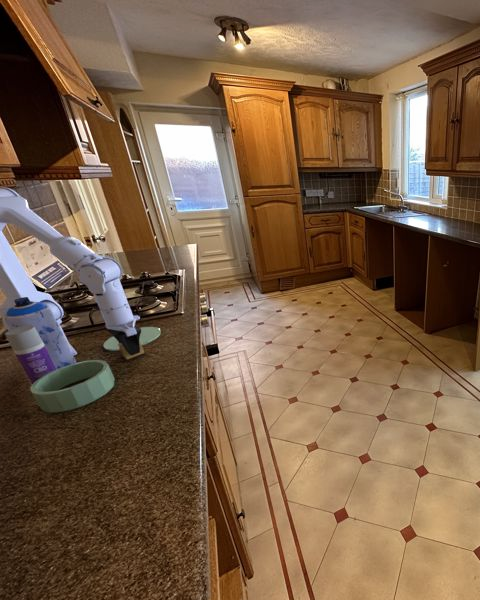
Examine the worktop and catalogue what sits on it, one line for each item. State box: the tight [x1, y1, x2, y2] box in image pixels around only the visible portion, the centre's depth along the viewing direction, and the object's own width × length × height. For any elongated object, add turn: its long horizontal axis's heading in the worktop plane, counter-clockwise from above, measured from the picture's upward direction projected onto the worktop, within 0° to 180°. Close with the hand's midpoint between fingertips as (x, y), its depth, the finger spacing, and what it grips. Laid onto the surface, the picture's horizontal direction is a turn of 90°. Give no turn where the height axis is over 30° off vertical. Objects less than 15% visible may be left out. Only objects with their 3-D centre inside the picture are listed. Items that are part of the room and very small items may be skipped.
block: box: [118, 342, 145, 360], centre depth 88 cm, size 4×4×4 cm
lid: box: [103, 326, 162, 352], centre depth 95 cm, size 14×14×5 cm
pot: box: [29, 359, 116, 414], centre depth 73 cm, size 13×13×5 cm
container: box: [4, 326, 57, 386], centre depth 74 cm, size 5×5×15 cm
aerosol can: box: [4, 297, 77, 369], centre depth 79 cm, size 8×8×20 cm
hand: (132, 351), depth 88 cm, fingers closed on block, 4 cm apart
